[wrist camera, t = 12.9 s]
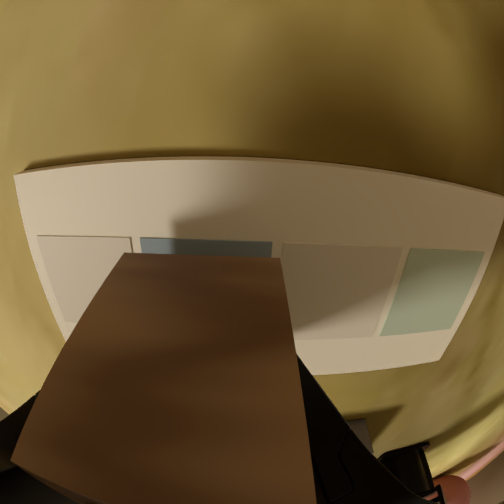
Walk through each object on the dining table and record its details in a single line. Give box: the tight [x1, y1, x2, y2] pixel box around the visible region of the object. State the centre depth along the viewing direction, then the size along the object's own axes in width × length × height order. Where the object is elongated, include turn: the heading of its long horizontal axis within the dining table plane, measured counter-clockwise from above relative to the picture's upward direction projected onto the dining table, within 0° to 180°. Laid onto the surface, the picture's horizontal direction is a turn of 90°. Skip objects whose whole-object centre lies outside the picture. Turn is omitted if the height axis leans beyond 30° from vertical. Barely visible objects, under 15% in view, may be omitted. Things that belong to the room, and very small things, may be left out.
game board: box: [14, 156, 504, 375], centre depth 11 cm, size 21×10×1 cm, turn 87°
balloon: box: [425, 475, 471, 504], centre depth 33 cm, size 15×20×15 cm
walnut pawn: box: [11, 252, 317, 504], centre depth 6 cm, size 5×5×8 cm
